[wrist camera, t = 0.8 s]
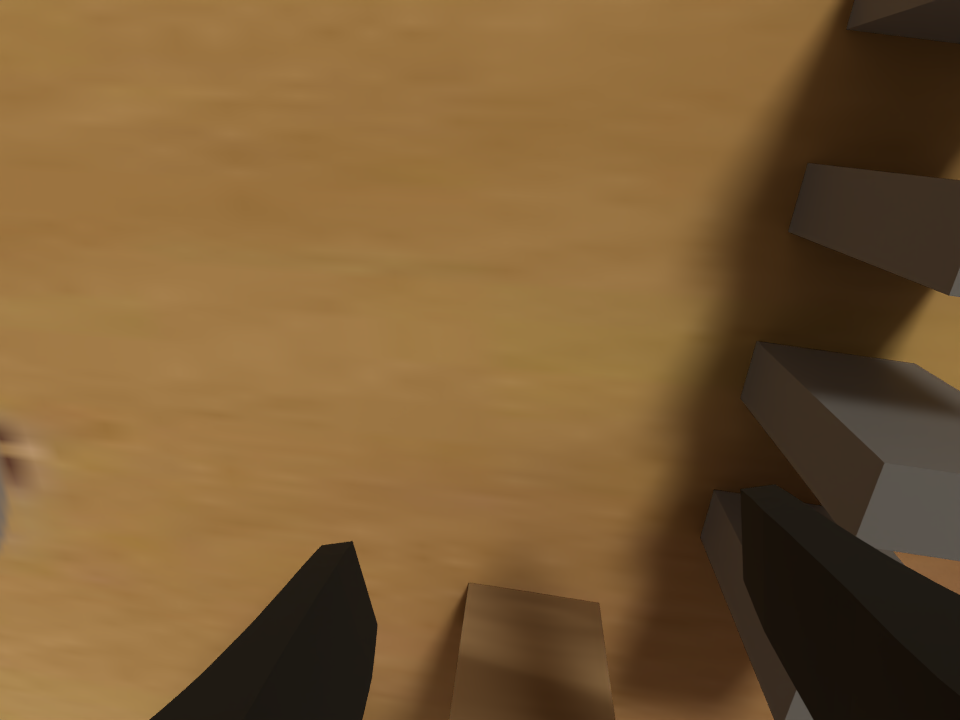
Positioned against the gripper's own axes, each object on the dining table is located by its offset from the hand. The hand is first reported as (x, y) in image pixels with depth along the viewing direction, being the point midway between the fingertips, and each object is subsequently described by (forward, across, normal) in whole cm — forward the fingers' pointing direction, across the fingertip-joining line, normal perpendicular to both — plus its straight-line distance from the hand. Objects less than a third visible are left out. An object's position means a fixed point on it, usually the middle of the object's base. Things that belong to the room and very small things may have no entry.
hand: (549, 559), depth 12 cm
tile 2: (+10, -10, +2) cm, 14 cm away
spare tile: (+10, +1, +10) cm, 14 cm away
